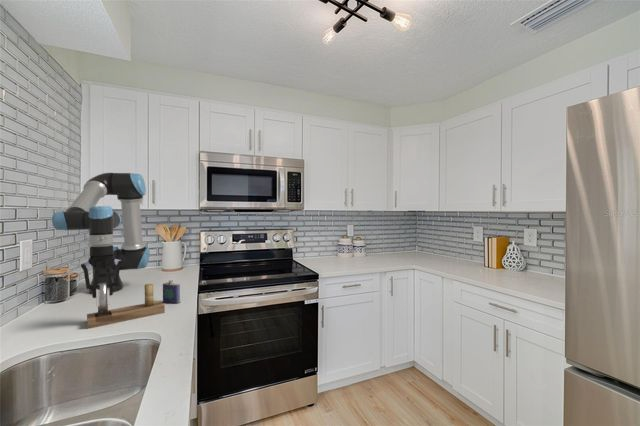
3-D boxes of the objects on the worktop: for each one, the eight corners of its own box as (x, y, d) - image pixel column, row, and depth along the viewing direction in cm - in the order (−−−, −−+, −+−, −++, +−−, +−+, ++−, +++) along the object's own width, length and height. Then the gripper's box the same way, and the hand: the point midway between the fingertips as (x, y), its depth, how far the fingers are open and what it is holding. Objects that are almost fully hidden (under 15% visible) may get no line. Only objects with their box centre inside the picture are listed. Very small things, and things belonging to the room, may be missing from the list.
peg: (97, 313, 117) (97, 283, 117) (107, 312, 119) (107, 282, 119) (98, 316, 115) (97, 285, 114) (108, 314, 117) (107, 283, 117)
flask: (181, 302, 141) (180, 280, 140) (176, 304, 138) (176, 281, 138) (165, 301, 143) (165, 278, 143) (160, 302, 140) (160, 280, 140)
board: (87, 321, 117) (86, 291, 117) (160, 307, 134) (159, 280, 134) (87, 328, 110) (86, 296, 110) (164, 312, 127) (164, 284, 127)
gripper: (75, 248, 109) (77, 311, 109) (126, 244, 119) (127, 302, 119) (75, 246, 114) (77, 306, 115) (124, 242, 124) (125, 298, 125)
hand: (102, 304), depth 117 cm, fingers closed on peg, 3 cm apart
